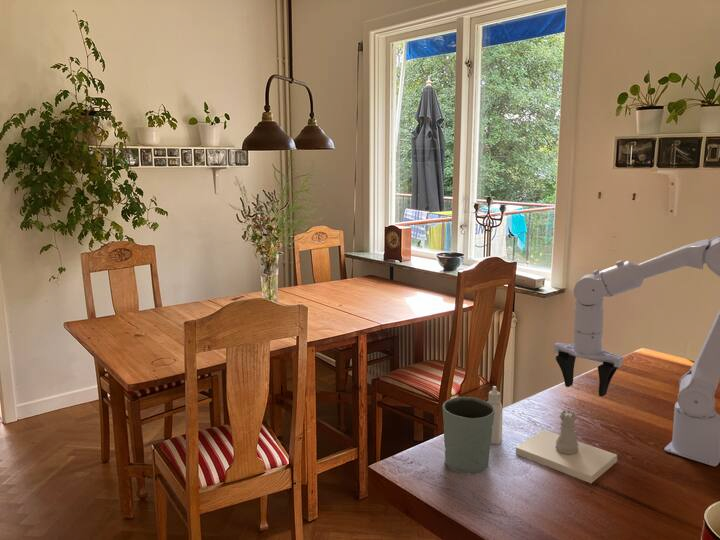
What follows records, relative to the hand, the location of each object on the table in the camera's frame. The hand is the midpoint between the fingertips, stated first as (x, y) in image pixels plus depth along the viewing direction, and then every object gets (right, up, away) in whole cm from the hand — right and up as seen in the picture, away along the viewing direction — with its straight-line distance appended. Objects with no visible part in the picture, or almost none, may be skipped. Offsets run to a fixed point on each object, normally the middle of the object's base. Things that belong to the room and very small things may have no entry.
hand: (585, 390), depth 127 cm
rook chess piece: (-8, -10, -10) cm, 16 cm away
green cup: (-28, -13, -10) cm, 32 cm away
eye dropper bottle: (-20, -11, -1) cm, 23 cm away
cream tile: (-8, -12, -10) cm, 17 cm away
